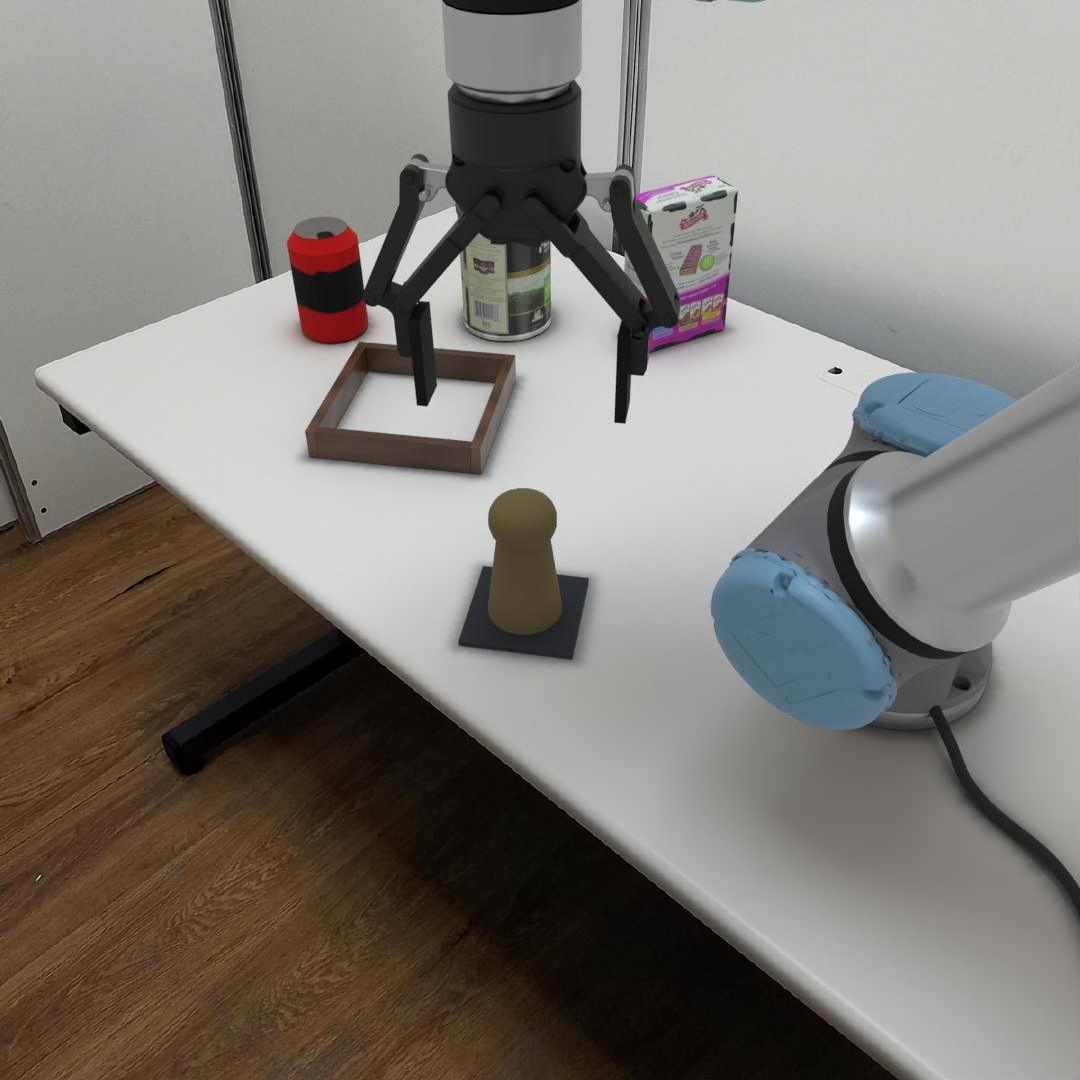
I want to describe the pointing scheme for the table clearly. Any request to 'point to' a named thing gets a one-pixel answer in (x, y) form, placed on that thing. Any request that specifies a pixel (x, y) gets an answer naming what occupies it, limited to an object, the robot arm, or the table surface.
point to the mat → (545, 643)
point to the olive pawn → (523, 563)
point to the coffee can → (505, 289)
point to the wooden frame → (407, 448)
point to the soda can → (327, 279)
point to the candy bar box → (692, 252)
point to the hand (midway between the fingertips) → (523, 404)
